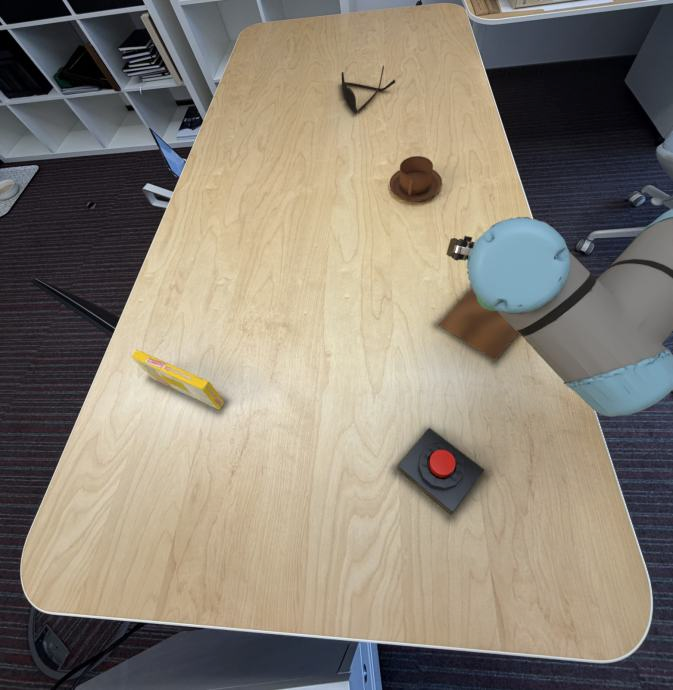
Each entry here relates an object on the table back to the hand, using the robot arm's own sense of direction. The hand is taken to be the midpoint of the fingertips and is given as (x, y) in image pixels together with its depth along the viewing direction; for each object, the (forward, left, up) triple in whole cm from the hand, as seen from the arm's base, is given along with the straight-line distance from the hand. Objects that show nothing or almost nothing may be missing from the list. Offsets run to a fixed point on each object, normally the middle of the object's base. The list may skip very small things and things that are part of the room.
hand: (505, 257), depth 66 cm
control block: (-11, +31, -14) cm, 36 cm away
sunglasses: (+69, -45, -14) cm, 83 cm away
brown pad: (-1, +3, -14) cm, 14 cm away
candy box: (+32, +49, -14) cm, 60 cm away
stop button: (-11, +31, -10) cm, 34 cm away
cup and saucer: (+32, -19, -14) cm, 40 cm away
